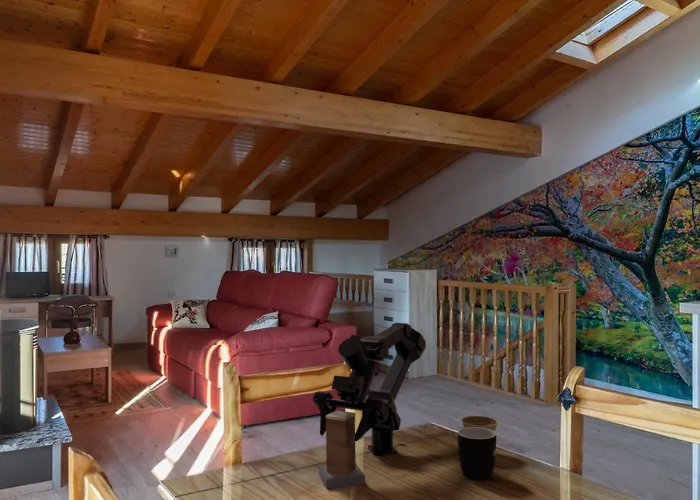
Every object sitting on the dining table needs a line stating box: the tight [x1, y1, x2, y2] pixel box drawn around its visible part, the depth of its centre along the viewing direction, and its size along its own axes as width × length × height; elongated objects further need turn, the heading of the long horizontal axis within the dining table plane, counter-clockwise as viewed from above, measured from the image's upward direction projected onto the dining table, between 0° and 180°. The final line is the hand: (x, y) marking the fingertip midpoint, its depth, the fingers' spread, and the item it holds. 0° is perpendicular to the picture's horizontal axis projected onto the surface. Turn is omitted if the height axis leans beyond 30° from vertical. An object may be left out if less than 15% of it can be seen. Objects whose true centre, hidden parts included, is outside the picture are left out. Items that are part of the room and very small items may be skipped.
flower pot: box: [461, 415, 499, 433], centre depth 150 cm, size 9×9×9 cm
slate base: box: [318, 463, 366, 489], centre depth 134 cm, size 9×9×2 cm
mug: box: [457, 427, 497, 481], centre depth 137 cm, size 12×9×10 cm
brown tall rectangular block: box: [325, 409, 357, 475], centre depth 134 cm, size 5×5×13 cm
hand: (337, 437), depth 133 cm, fingers open, 9 cm apart
